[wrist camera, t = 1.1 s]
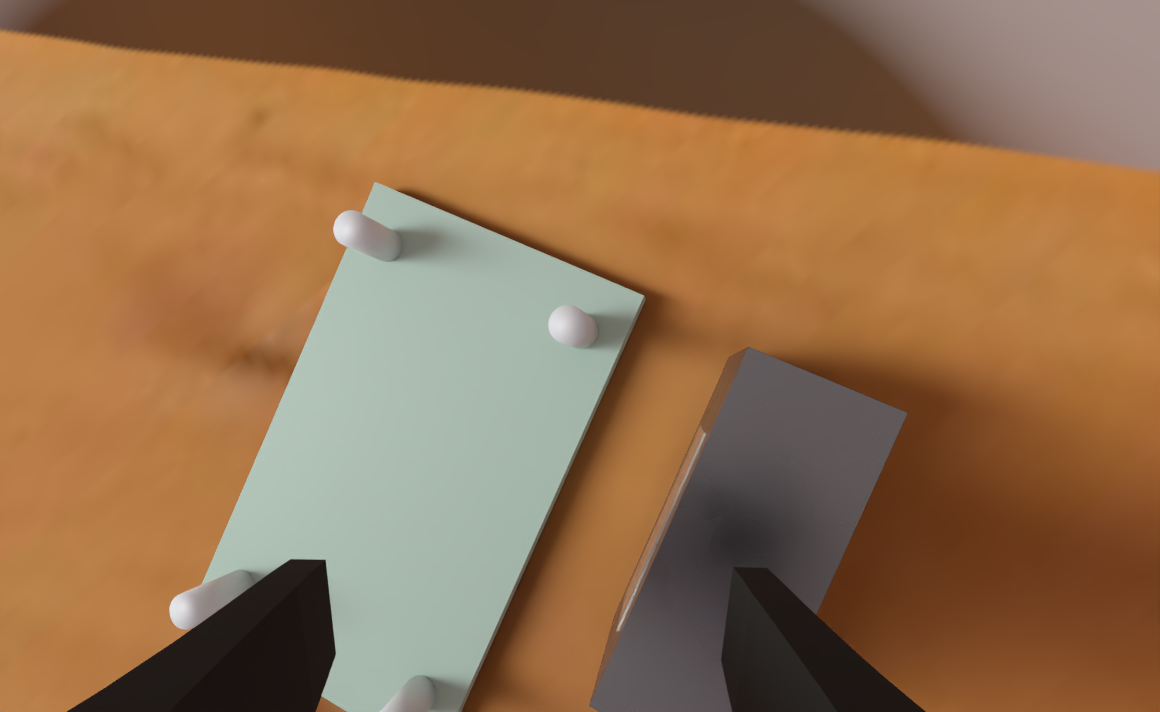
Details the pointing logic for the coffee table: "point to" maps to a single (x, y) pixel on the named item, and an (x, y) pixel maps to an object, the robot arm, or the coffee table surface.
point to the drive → (743, 526)
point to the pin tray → (422, 446)
